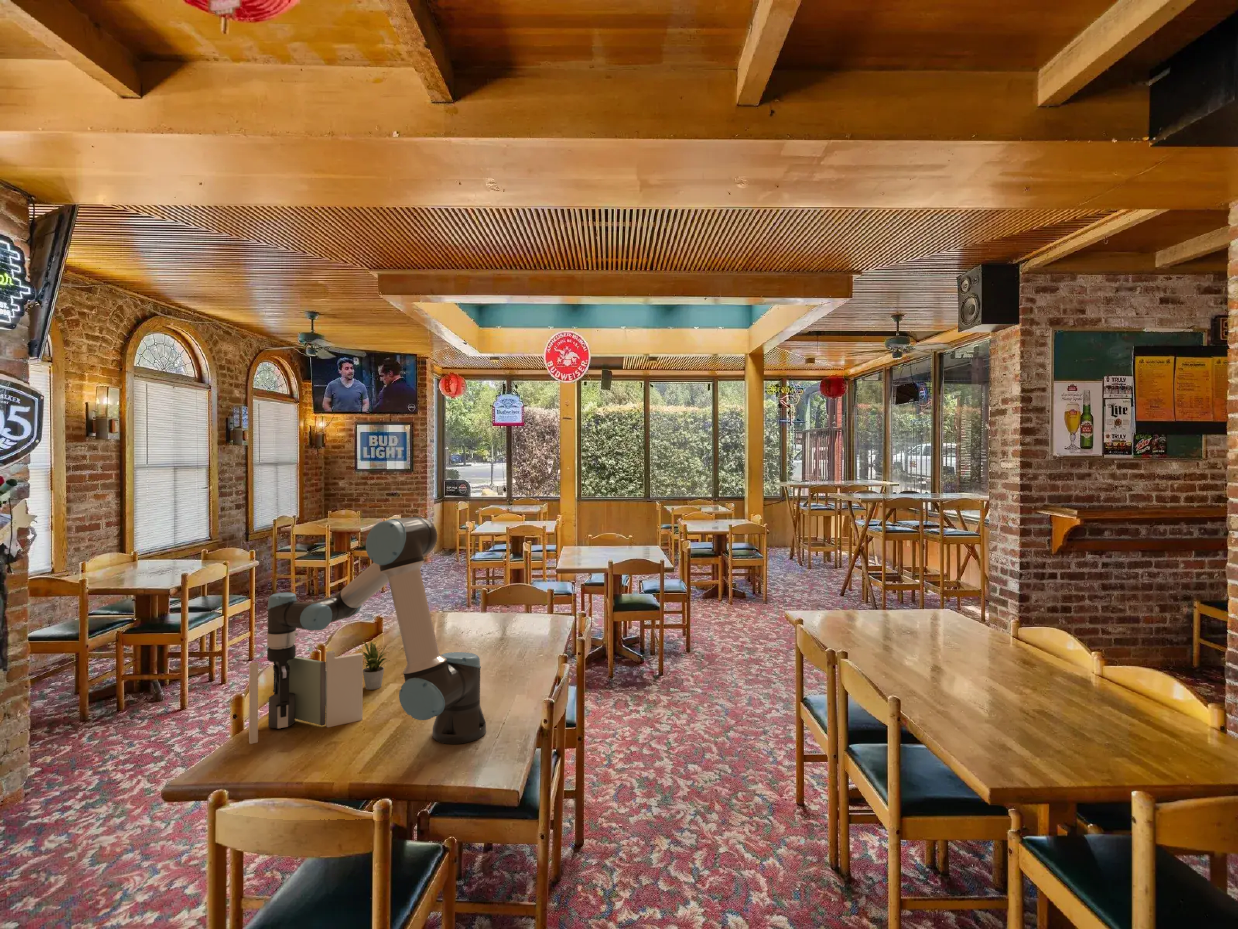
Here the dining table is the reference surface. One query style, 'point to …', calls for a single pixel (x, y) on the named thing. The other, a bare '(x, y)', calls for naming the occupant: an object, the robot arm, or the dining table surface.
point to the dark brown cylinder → (273, 709)
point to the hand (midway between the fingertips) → (280, 722)
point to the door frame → (340, 691)
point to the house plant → (373, 667)
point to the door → (308, 689)
